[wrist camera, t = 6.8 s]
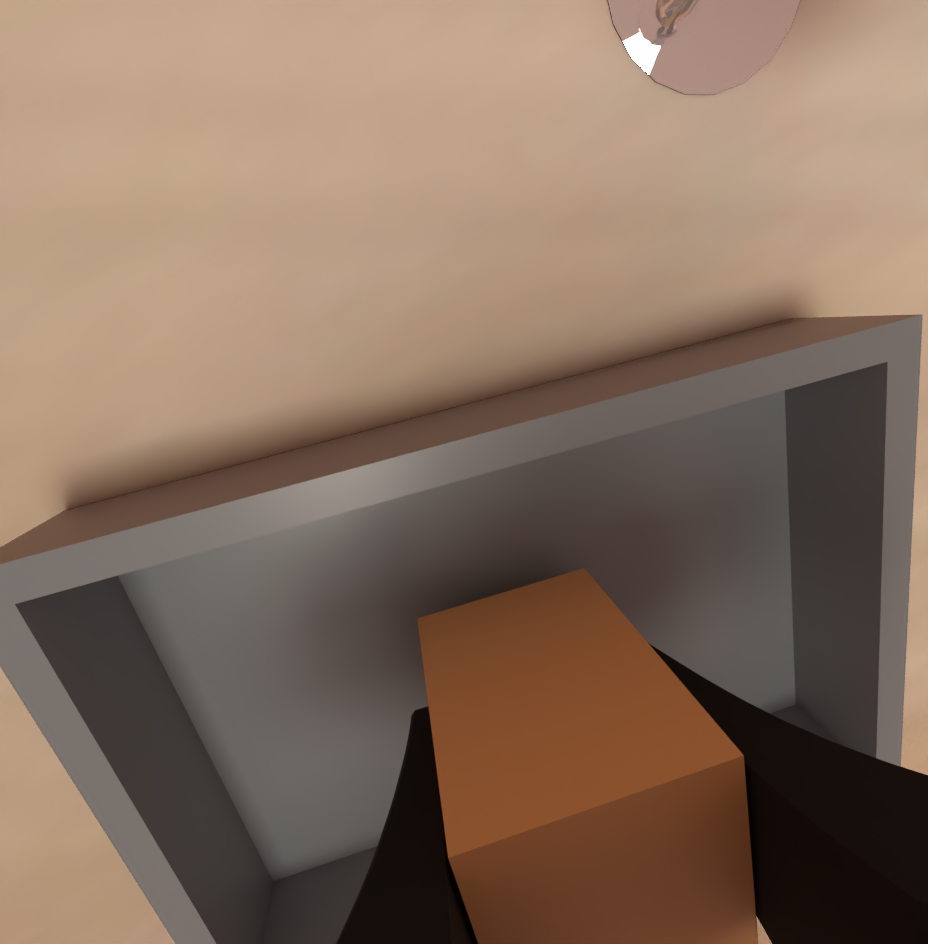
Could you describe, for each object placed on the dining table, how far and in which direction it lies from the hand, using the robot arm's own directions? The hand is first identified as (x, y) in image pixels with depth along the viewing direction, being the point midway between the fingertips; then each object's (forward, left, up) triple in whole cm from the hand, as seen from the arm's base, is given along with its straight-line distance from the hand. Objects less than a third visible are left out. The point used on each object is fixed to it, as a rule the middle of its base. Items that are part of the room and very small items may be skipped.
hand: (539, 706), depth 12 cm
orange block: (0, 0, -2) cm, 2 cm away
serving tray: (0, 0, -3) cm, 3 cm away
